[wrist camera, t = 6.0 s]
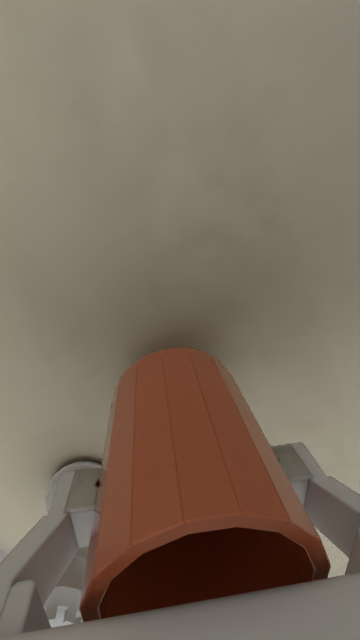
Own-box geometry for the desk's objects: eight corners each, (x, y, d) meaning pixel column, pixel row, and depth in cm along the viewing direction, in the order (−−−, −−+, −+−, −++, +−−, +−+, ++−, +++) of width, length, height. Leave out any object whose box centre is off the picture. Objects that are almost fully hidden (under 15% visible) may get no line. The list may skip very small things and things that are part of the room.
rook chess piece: (46, 501, 20) (-9, 665, 13) (56, 452, 19) (1, 604, 12) (109, 506, 21) (91, 662, 14) (122, 460, 20) (111, 605, 12)
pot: (106, 352, 13) (58, 540, 6) (238, 342, 14) (352, 497, 6) (119, 455, 15) (99, 684, 8) (232, 442, 16) (310, 641, 9)
